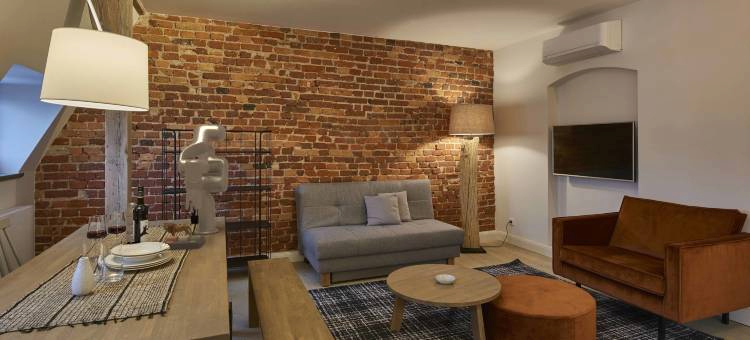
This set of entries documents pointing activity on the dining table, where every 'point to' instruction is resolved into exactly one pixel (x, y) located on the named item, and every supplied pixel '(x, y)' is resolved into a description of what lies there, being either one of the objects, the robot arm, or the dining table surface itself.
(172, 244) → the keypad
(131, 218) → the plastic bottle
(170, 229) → the lion figurine
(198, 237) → the sage key
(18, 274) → the dining table surface
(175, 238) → the terracotta key
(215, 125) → the robot arm
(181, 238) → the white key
